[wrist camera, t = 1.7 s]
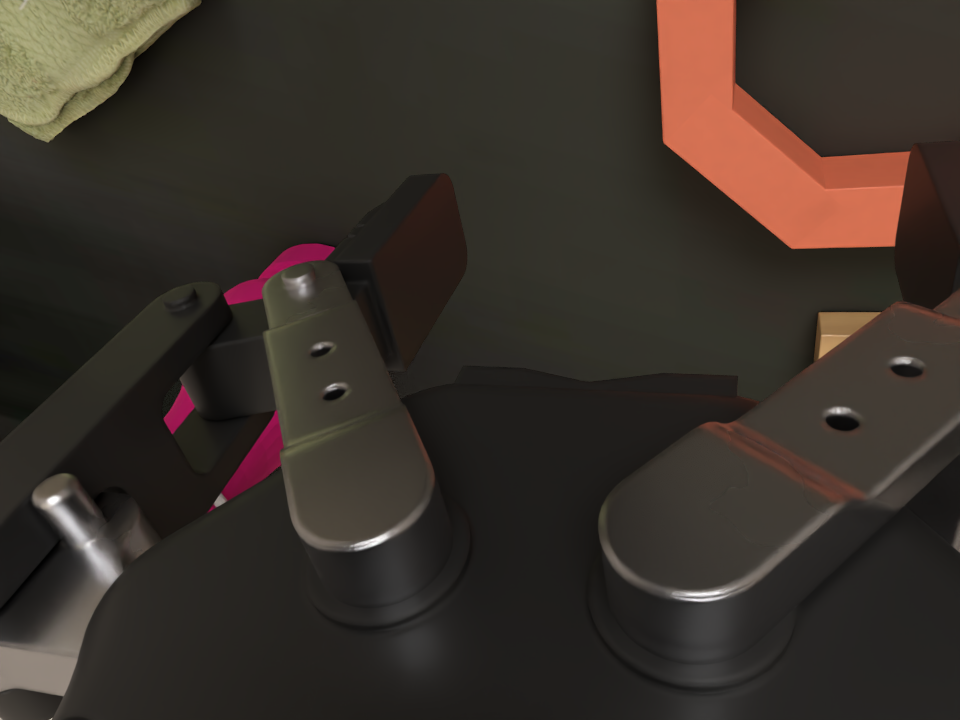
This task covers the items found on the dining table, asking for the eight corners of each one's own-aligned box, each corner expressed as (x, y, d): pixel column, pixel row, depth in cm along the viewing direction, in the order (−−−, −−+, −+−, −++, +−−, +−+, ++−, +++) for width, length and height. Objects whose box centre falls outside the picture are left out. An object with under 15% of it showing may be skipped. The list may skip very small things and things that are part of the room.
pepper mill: (419, 269, 31) (101, 738, 16) (391, 382, 35) (128, 820, 21) (266, 207, 31) (-184, 609, 16) (259, 327, 36) (-91, 720, 21)
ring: (656, -244, 18) (644, -245, 16) (1354, -426, 14) (1442, -455, 12) (674, 219, 26) (667, 252, 24) (1126, 200, 21) (1158, 240, 19)
